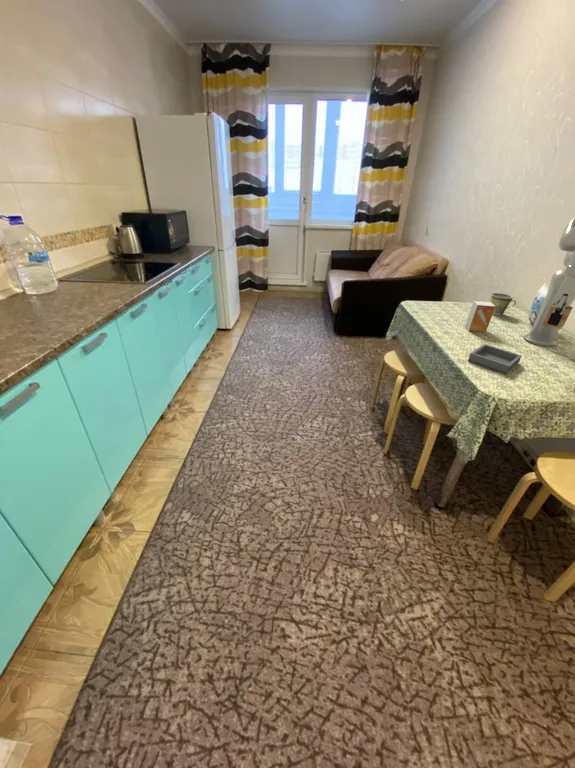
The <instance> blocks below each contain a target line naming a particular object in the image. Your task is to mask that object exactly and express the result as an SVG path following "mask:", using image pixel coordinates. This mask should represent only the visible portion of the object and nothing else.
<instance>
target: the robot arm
mask: <svg viewBox="0 0 575 768" xmlns="http://www.w3.org/2000/svg"><path fill="white" fill-rule="evenodd" d="M558 248H559V249H560V250H561V251H563V252H566V253H565V256H564V259H563V265H564V268H563V269H558V270H557V271H555V272H554V273H553V274H552V276H551V278H550V282H549V285H548V287H549V289H548V292H547V295H546V297H545V300H544V302H543V304H542V307H541V309H540V311H539V313H538V316H537V318H536V320H535V322H534V325H532V327H531V329H530V331H529V333H526V334H524V336H523V339H524V340H525V341H526V342H528V343H530V344H533V345H536V346H540V347H548V348H549V347H550V348H552V347H556V346H557V344H558V342H557V339H556V336H557V334H558V332H559V330H560V329H558V328H554V327H550V326H546V325H543V323H544V320H545V318H546V316H547V314H548V312H549V310H550V307H551V306H552V305H554V304H557V305H556V307H555V309H554V310H553V312H552V314H551V316H550V318H549V320H548V322H547V324H550V325H554V326H557V325H558V324H559V322H560V320H561V318H562V316H563V315H562V314H563V312H564V310H565V308H566V307H568V306H570V307H571V305H572V304H573V303H574V301H575V217H573V218H572V219H571V220H570V221H569V222H568V223H567V224H566V226H565V227H564V229H563V232H562V234H561V237H560V238H559V242H558ZM563 305H565V306H563ZM562 308H563V309H562Z"/></svg>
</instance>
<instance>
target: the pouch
mask: <svg viewBox="0 0 575 768" xmlns="http://www.w3.org/2000/svg"><path fill="white" fill-rule="evenodd" d="M548 289H549V285H548V284H547V283H546V282H545V283H544V284H543V285H542V286H541V287H540V288H539V289H538V291H537V293H536V295H535V296H534V299H533V301H532V303H531V306H530V309H529V313H528V317H527V318H528V321H529V322H530V323H531V324H532V326H533V325H534V322H535V320H536V318H537V316H538V313H539V311H540V309H541V307H542V304H543V302H544V300H545V297H546V295H547V292H548Z"/></svg>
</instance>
